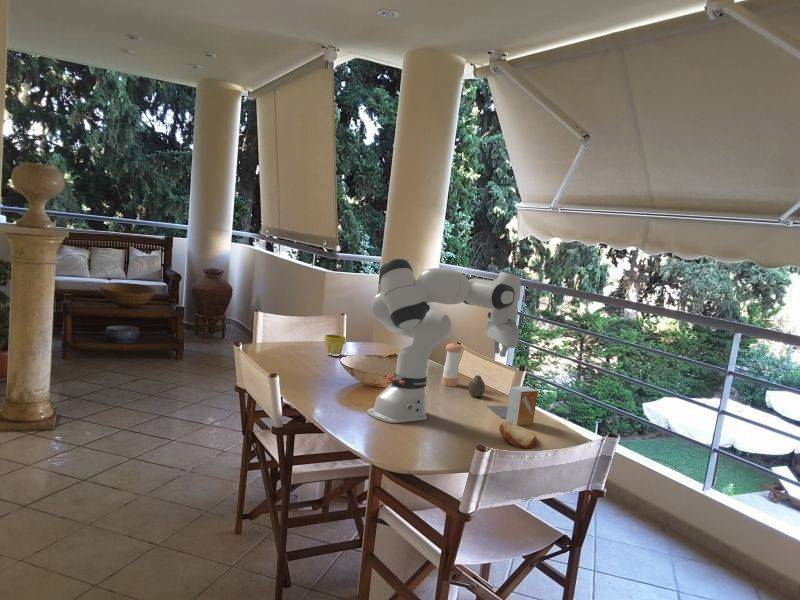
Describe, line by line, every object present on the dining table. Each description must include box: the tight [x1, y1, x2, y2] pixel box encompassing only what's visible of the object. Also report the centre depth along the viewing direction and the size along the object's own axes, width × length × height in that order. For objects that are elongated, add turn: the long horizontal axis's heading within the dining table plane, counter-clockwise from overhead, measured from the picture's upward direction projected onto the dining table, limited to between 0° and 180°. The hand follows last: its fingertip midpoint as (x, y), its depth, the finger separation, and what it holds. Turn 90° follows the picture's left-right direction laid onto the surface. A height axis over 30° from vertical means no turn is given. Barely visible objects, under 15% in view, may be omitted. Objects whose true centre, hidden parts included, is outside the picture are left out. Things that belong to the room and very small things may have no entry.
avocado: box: [468, 375, 486, 398], centre depth 250 cm, size 7×7×9 cm
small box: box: [505, 385, 539, 426], centre depth 220 cm, size 8×6×13 cm
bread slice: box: [498, 421, 538, 450], centre depth 203 cm, size 18×18×4 cm
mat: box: [486, 405, 508, 419], centre depth 231 cm, size 14×11×1 cm
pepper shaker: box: [441, 341, 463, 387], centre depth 264 cm, size 7×7×19 cm
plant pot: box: [324, 333, 347, 355], centre depth 297 cm, size 10×10×10 cm
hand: (499, 354), depth 215 cm, fingers open, 4 cm apart
